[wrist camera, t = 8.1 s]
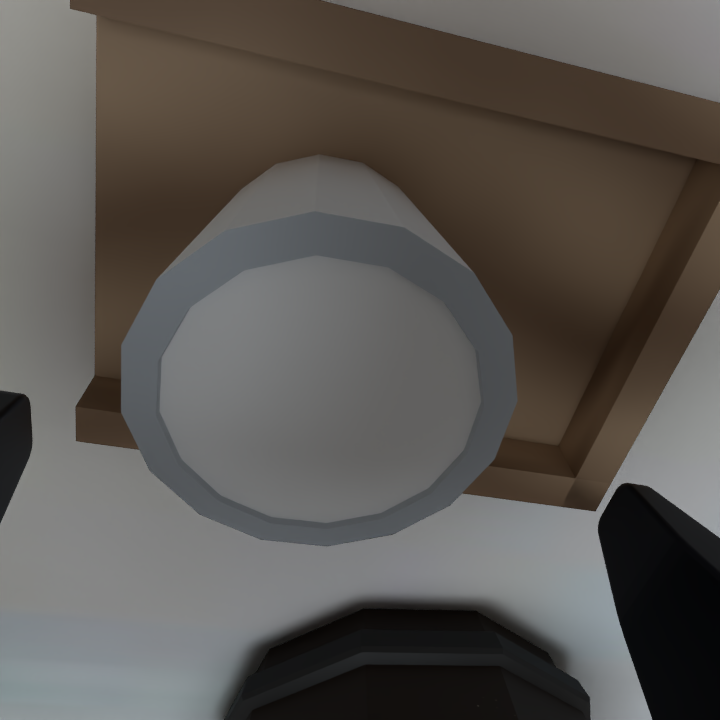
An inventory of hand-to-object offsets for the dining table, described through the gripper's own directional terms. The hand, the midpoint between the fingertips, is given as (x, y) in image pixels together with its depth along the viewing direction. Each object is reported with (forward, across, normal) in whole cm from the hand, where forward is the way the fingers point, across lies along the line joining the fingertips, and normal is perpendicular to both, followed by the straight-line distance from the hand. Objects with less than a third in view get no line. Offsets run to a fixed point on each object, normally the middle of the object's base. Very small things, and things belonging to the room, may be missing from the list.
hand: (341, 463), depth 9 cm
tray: (+10, -2, 0) cm, 10 cm away
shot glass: (+9, 0, 0) cm, 9 cm away
